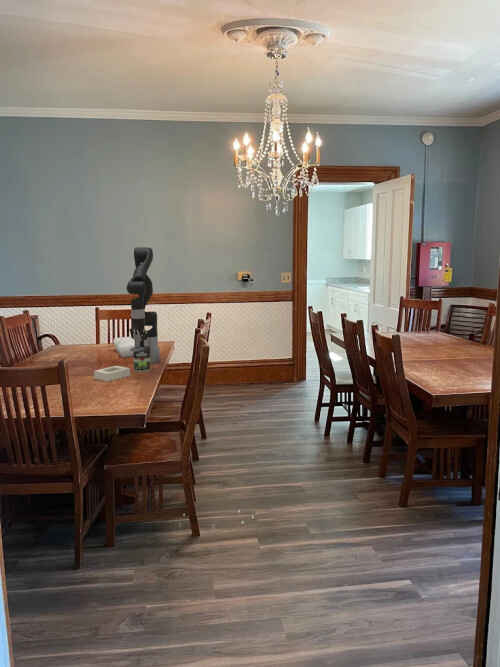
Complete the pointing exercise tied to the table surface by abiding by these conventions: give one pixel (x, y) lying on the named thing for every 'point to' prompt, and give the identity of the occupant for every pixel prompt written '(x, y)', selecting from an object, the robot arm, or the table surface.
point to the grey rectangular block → (137, 344)
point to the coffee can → (142, 360)
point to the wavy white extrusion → (124, 346)
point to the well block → (111, 373)
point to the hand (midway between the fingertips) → (139, 346)
